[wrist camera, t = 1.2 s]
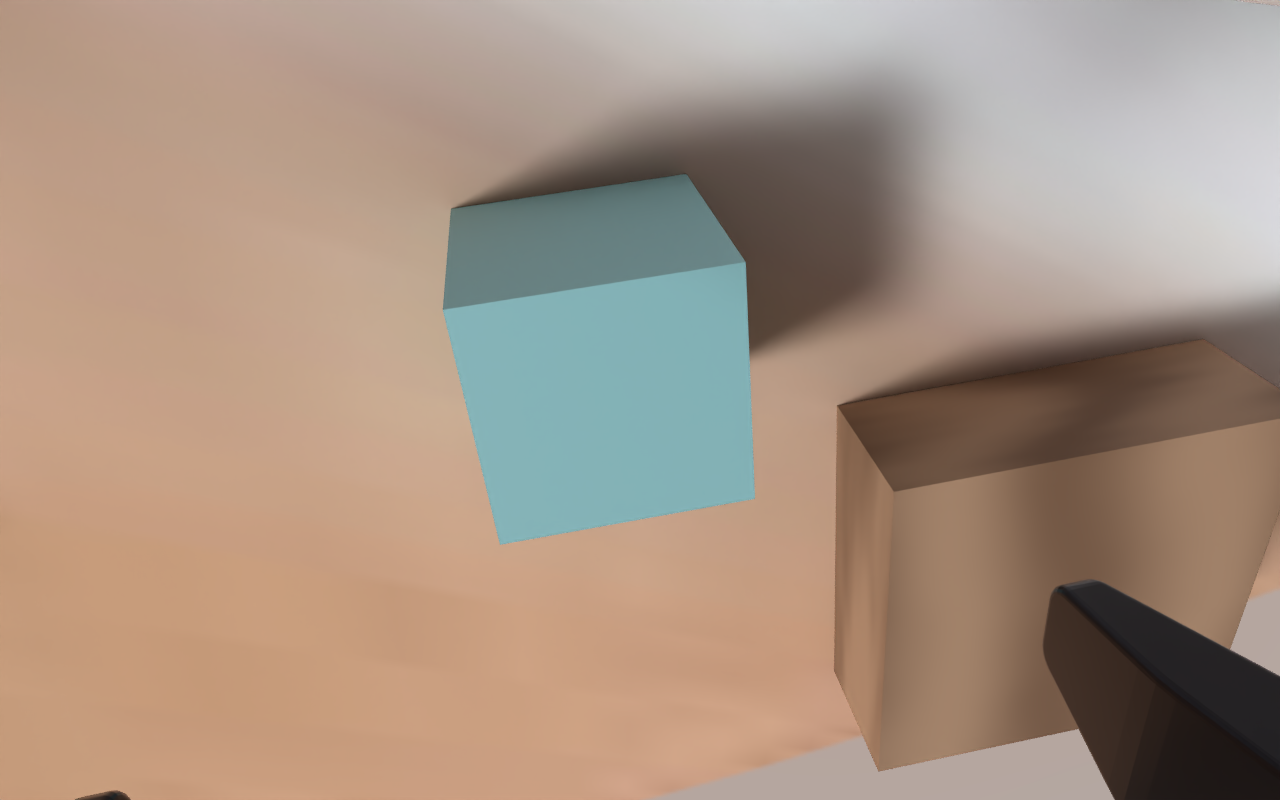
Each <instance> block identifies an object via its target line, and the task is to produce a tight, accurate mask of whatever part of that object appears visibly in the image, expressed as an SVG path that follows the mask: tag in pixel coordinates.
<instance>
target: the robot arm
mask: <svg viewBox="0 0 1280 800" xmlns="http://www.w3.org/2000/svg"><path fill="white" fill-rule="evenodd" d="M1042 647H1043V654H1044V659H1045V662H1046V664H1047V667H1048V669H1049V671H1050V673H1051V675H1052V677H1053V679H1054V681H1055V683H1056V685H1057V687H1058V689H1059V691H1060V693H1061V695H1062V697H1063V699H1064V701H1065V703H1066V705H1067V707H1068V709H1069V711H1070V713H1071V715H1072V717H1073V719H1074V721H1075V723H1076V725H1077V727H1078V729H1079V731H1080V733H1081V735H1082V737H1083V739H1084V741H1085V742H1086V745H1087V746H1088V749H1089V751H1090V752H1091V754H1092V756H1093V758H1094V760H1095V762H1096V764H1097V766H1098V768H1099V770H1100V772H1101V774H1102V776H1103V778H1104V780H1105V782H1106V784H1107V786H1108V788H1109V790H1110V792H1111V794H1112V795H1113V797H1114V799H1115V800H1280V676H1279V675H1277V674H1275V673H1273V672H1271V671H1269V670H1267V669H1265V668H1264V667H1262V666H1260V665H1258V664H1256V663H1254V662H1252V661H1250V660H1249V659H1247V658H1245V657H1243V656H1241V655H1239V654H1237V653H1235V652H1234V651H1232V650H1230V649H1228V648H1226V647H1224V646H1222V645H1221V644H1219V643H1217V642H1215V641H1213V640H1211V639H1209V638H1207V637H1205V636H1204V635H1202V634H1200V633H1198V632H1196V631H1194V630H1192V629H1190V628H1189V627H1187V626H1185V625H1183V624H1181V623H1179V622H1177V621H1175V620H1174V619H1172V618H1170V617H1168V616H1166V615H1164V614H1162V613H1160V612H1159V611H1157V610H1155V609H1153V608H1151V607H1149V606H1147V605H1145V604H1143V603H1142V602H1140V601H1138V600H1136V599H1134V598H1132V597H1130V596H1128V595H1127V594H1125V593H1123V592H1121V591H1119V590H1117V589H1115V588H1113V587H1112V586H1110V585H1108V584H1106V583H1104V582H1101V581H1098V580H1094V579H1087V580H1082V581H1077V582H1072V583H1068V584H1063V585H1059V586H1057V587H1055V589H1054V590H1053V591H1052V592H1051V595H1050V599H1049V605H1048V611H1047V617H1046V623H1045V629H1044V635H1043V642H1042ZM75 800H130V798H129V797H128V796H127V795H126V794H125V793H122V792H120V791H108V792H104V793H99V794H95V795H90V796H85V797H81V798H78V799H75Z"/></svg>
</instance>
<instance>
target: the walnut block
mask: <svg viewBox="0 0 1280 800" xmlns="http://www.w3.org/2000/svg"><path fill="white" fill-rule="evenodd" d="M1279 511H1280V389H1279V388H1278V387H1276V386H1275V385H1273V384H1271V383H1270V382H1268V381H1267V380H1265V379H1264V378H1262V377H1261V376H1259V375H1258V374H1256V373H1255V372H1253V371H1252V370H1250V369H1249V368H1247V367H1246V366H1244V365H1243V364H1241V363H1239V362H1238V361H1236V360H1235V359H1233V358H1232V357H1230V356H1229V355H1227V354H1226V353H1224V352H1223V351H1221V350H1220V349H1218V348H1217V347H1215V346H1214V345H1212V344H1210V343H1209V342H1207V341H1206V340H1204V339H1201V340H1195V341H1190V342H1184V343H1179V344H1173V345H1168V346H1162V347H1157V348H1151V349H1146V350H1140V351H1135V352H1129V353H1124V354H1118V355H1113V356H1107V357H1102V358H1096V359H1091V360H1085V361H1080V362H1074V363H1069V364H1063V365H1058V366H1052V367H1047V368H1041V369H1036V370H1030V371H1025V372H1019V373H1014V374H1008V375H1003V376H997V377H992V378H986V379H981V380H975V381H970V382H964V383H959V384H953V385H948V386H942V387H937V388H931V389H926V390H920V391H915V392H909V393H904V394H898V395H893V396H887V397H882V398H876V399H871V400H865V401H860V402H854V403H849V404H843V405H838V406H837V455H836V553H835V651H834V671H835V674H836V676H837V678H838V680H839V683H840V685H841V687H842V690H843V692H844V694H845V696H846V699H847V701H848V703H849V706H850V708H851V710H852V712H853V715H854V717H855V719H856V721H857V724H858V726H859V728H860V731H861V733H862V735H863V737H864V740H865V742H866V744H867V746H868V749H869V751H870V753H871V756H872V758H873V760H874V762H875V765H876V767H877V769H878V771H883V770H888V769H893V768H897V767H901V766H907V765H911V764H916V763H920V762H925V761H930V760H935V759H939V758H944V757H949V756H954V755H958V754H963V753H968V752H972V751H977V750H981V749H986V748H991V747H996V746H1000V745H1005V744H1010V743H1014V742H1019V741H1024V740H1028V739H1033V738H1038V737H1043V736H1047V735H1052V734H1057V733H1061V732H1066V731H1070V730H1075V729H1078V727H1077V725H1076V723H1075V721H1074V719H1073V717H1072V715H1071V713H1070V711H1069V709H1068V707H1067V705H1066V703H1065V701H1064V699H1063V697H1062V695H1061V693H1060V691H1059V689H1058V687H1057V685H1056V683H1055V681H1054V679H1053V677H1052V675H1051V673H1050V671H1049V669H1048V667H1047V664H1046V662H1045V659H1044V654H1043V647H1042V642H1043V635H1044V629H1045V623H1046V617H1047V611H1048V605H1049V599H1050V595H1051V592H1052V591H1053V590H1054V589H1055V587H1057V586H1059V585H1063V584H1068V583H1072V582H1077V581H1082V580H1087V579H1094V580H1098V581H1101V582H1104V583H1106V584H1108V585H1110V586H1112V587H1113V588H1115V589H1117V590H1119V591H1121V592H1123V593H1125V594H1127V595H1128V596H1130V597H1132V598H1134V599H1136V600H1138V601H1140V602H1142V603H1143V604H1145V605H1147V606H1149V607H1151V608H1153V609H1155V610H1157V611H1159V612H1160V613H1162V614H1164V615H1166V616H1168V617H1170V618H1172V619H1174V620H1175V621H1177V622H1179V623H1181V624H1183V625H1185V626H1187V627H1189V628H1190V629H1192V630H1194V631H1196V632H1198V633H1200V634H1202V635H1204V636H1205V637H1207V638H1209V639H1211V640H1213V641H1215V642H1217V643H1219V644H1221V645H1222V646H1224V647H1226V648H1228V649H1230V648H1231V645H1232V642H1233V639H1234V637H1235V634H1236V631H1237V629H1238V626H1239V623H1240V620H1241V617H1242V615H1243V612H1244V609H1245V606H1246V603H1247V601H1248V598H1249V595H1250V592H1251V589H1252V587H1253V584H1254V581H1255V578H1256V575H1257V573H1258V570H1259V567H1260V564H1261V561H1262V559H1263V556H1264V553H1265V550H1266V547H1267V545H1268V542H1269V539H1270V536H1271V534H1272V531H1273V528H1274V525H1275V522H1276V520H1277V517H1278V514H1279Z"/></svg>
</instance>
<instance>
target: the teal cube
mask: <svg viewBox="0 0 1280 800" xmlns="http://www.w3.org/2000/svg"><path fill="white" fill-rule="evenodd" d="M443 312H444V316H445V321H446V325H447V329H448V333H449V337H450V341H451V345H452V349H453V353H454V357H455V362H456V366H457V370H458V374H459V378H460V382H461V386H462V390H463V394H464V399H465V403H466V407H467V411H468V415H469V419H470V423H471V427H472V431H473V435H474V440H475V444H476V448H477V452H478V456H479V460H480V464H481V468H482V472H483V476H484V481H485V485H486V489H487V493H488V497H489V501H490V505H491V509H492V513H493V518H494V522H495V526H496V530H497V534H498V538H499V542H500V545H501V544H507V543H512V542H518V541H523V540H529V539H534V538H540V537H545V536H551V535H557V534H562V533H568V532H573V531H579V530H584V529H590V528H595V527H601V526H606V525H612V524H618V523H623V522H629V521H634V520H640V519H645V518H651V517H656V516H662V515H668V514H673V513H679V512H684V511H690V510H695V509H701V508H706V507H712V506H718V505H723V504H729V503H734V502H740V501H745V500H751V499H755V490H754V464H753V438H752V413H751V387H750V361H749V335H748V309H747V284H746V262H745V260H744V259H743V257H742V256H741V254H740V253H739V251H738V250H737V248H736V247H735V245H734V244H733V243H732V241H731V240H730V238H729V237H728V235H727V234H726V232H725V231H724V229H723V228H722V226H721V225H720V223H719V222H718V220H717V219H716V217H715V216H714V214H713V213H712V211H711V210H710V208H709V207H708V205H707V204H706V202H705V201H704V199H703V198H702V196H701V195H700V194H699V192H698V191H697V189H696V188H695V186H694V185H693V183H692V182H691V180H690V179H689V177H688V176H687V174H682V175H676V176H669V177H662V178H655V179H649V180H642V181H635V182H629V183H622V184H615V185H608V186H602V187H595V188H588V189H582V190H575V191H568V192H561V193H555V194H548V195H541V196H534V197H528V198H521V199H514V200H508V201H501V202H494V203H487V204H481V205H474V206H467V207H461V208H454V209H451V215H450V227H449V240H448V252H447V265H446V278H445V290H444V303H443Z"/></svg>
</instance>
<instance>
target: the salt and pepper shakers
mask: <svg viewBox="0 0 1280 800" xmlns="http://www.w3.org/2000/svg"><path fill="white" fill-rule="evenodd" d="M1236 1H1244V2H1250V3H1262V4H1268V5H1277V6H1280V0H1236Z"/></svg>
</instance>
